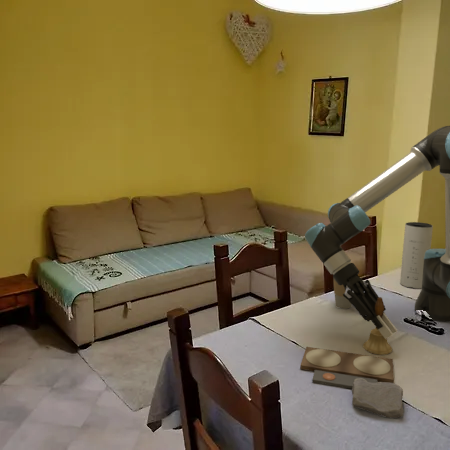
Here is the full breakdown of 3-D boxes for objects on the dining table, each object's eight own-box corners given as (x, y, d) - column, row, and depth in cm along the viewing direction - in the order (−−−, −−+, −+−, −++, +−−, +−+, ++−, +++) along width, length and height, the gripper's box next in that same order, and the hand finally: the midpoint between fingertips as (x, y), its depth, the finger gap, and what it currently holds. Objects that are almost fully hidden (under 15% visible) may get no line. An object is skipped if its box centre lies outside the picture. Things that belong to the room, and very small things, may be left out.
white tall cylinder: (430, 284, 186) (436, 222, 180) (422, 291, 178) (428, 227, 173) (405, 278, 193) (409, 219, 187) (396, 285, 185) (400, 223, 180)
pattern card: (377, 382, 116) (377, 378, 116) (377, 393, 111) (377, 389, 111) (314, 372, 121) (314, 369, 121) (312, 382, 116) (312, 378, 116)
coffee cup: (354, 301, 169) (356, 263, 166) (358, 311, 160) (361, 271, 157) (328, 300, 170) (330, 262, 167) (332, 310, 161) (333, 270, 158)
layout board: (392, 362, 125) (392, 357, 125) (393, 383, 115) (393, 378, 115) (306, 350, 133) (306, 345, 133) (300, 369, 123) (300, 364, 123)
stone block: (404, 427, 102) (402, 395, 110) (405, 411, 100) (403, 380, 109) (350, 419, 105) (352, 389, 114) (350, 404, 103) (352, 374, 112)
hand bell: (371, 356, 129) (375, 304, 125) (357, 343, 137) (360, 293, 133) (397, 353, 130) (402, 302, 127) (382, 340, 138) (386, 291, 135)
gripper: (345, 269, 145) (392, 331, 138) (320, 281, 134) (370, 350, 127) (362, 256, 140) (411, 320, 133) (337, 268, 129) (390, 338, 122)
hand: (391, 334), depth 130 cm, fingers closed on hand bell, 2 cm apart
